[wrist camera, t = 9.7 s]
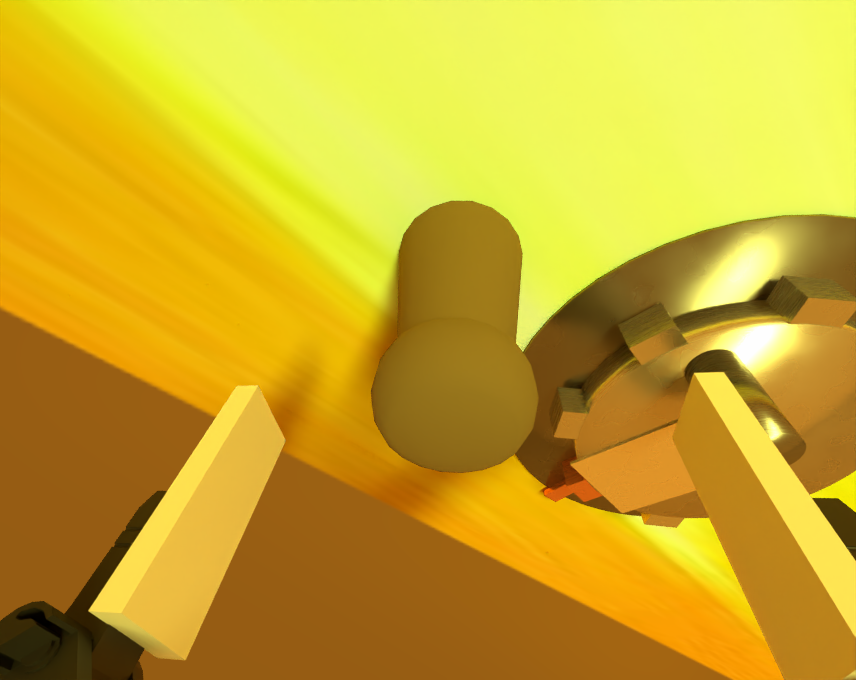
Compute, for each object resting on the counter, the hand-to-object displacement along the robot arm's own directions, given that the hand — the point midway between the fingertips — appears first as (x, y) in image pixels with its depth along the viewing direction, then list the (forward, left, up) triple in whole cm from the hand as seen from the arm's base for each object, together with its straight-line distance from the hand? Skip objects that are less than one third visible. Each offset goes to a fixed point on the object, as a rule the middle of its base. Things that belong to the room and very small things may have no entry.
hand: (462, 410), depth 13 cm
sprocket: (+14, -11, -10) cm, 20 cm away
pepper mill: (0, 0, -10) cm, 10 cm away
